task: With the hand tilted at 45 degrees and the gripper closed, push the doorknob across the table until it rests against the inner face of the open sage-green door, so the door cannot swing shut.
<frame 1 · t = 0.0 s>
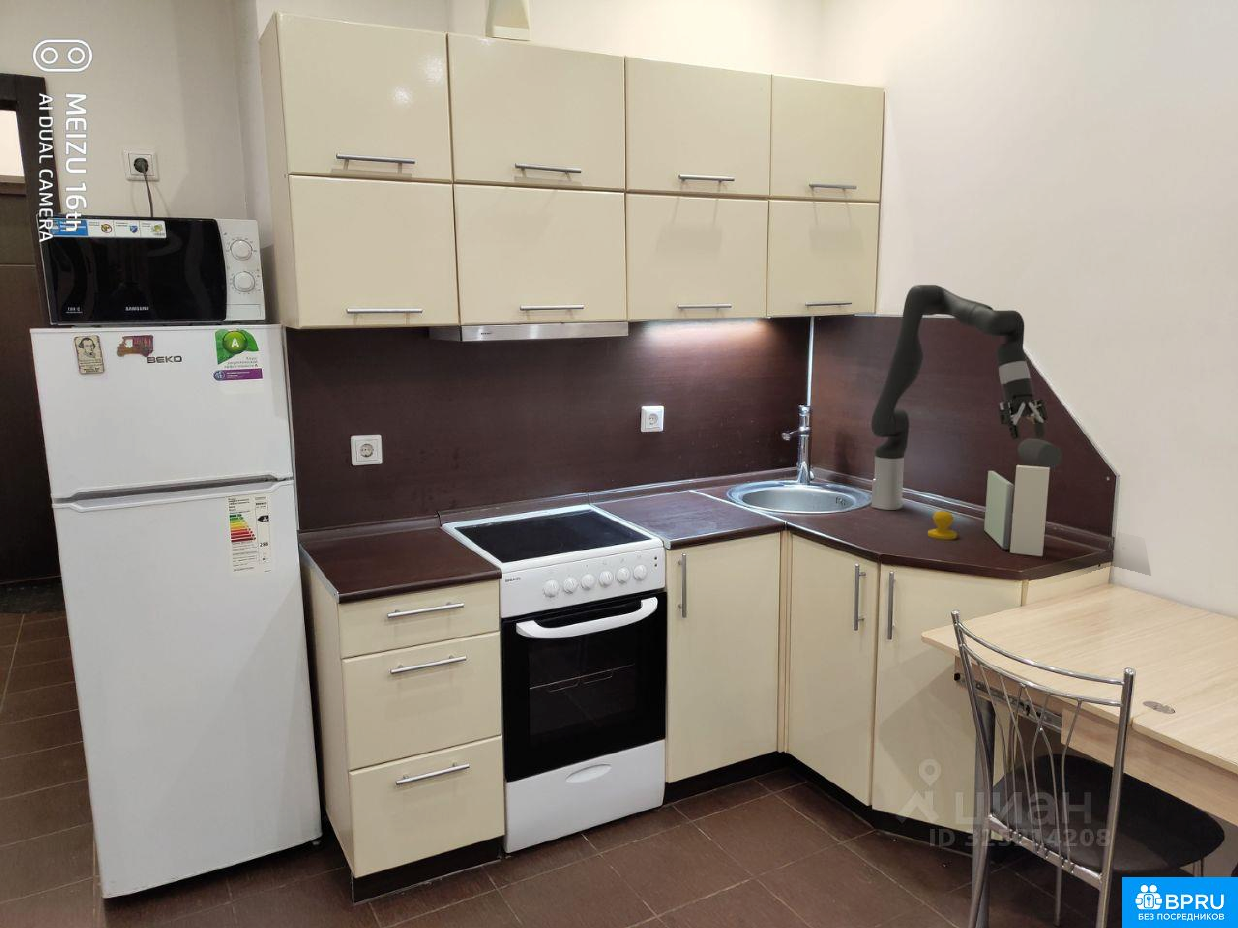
hand: (1028, 438, 239), 31 cm above the countertop, tool tilted 20°, fingers open, 8 cm apart
door: (998, 508, 252), point 10 cm above the countertop, hinge at 70.0°
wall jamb: (967, 546, 250), on the countertop
doorknob: (942, 536, 260), on the countertop
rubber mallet: (1031, 545, 251), on the countertop
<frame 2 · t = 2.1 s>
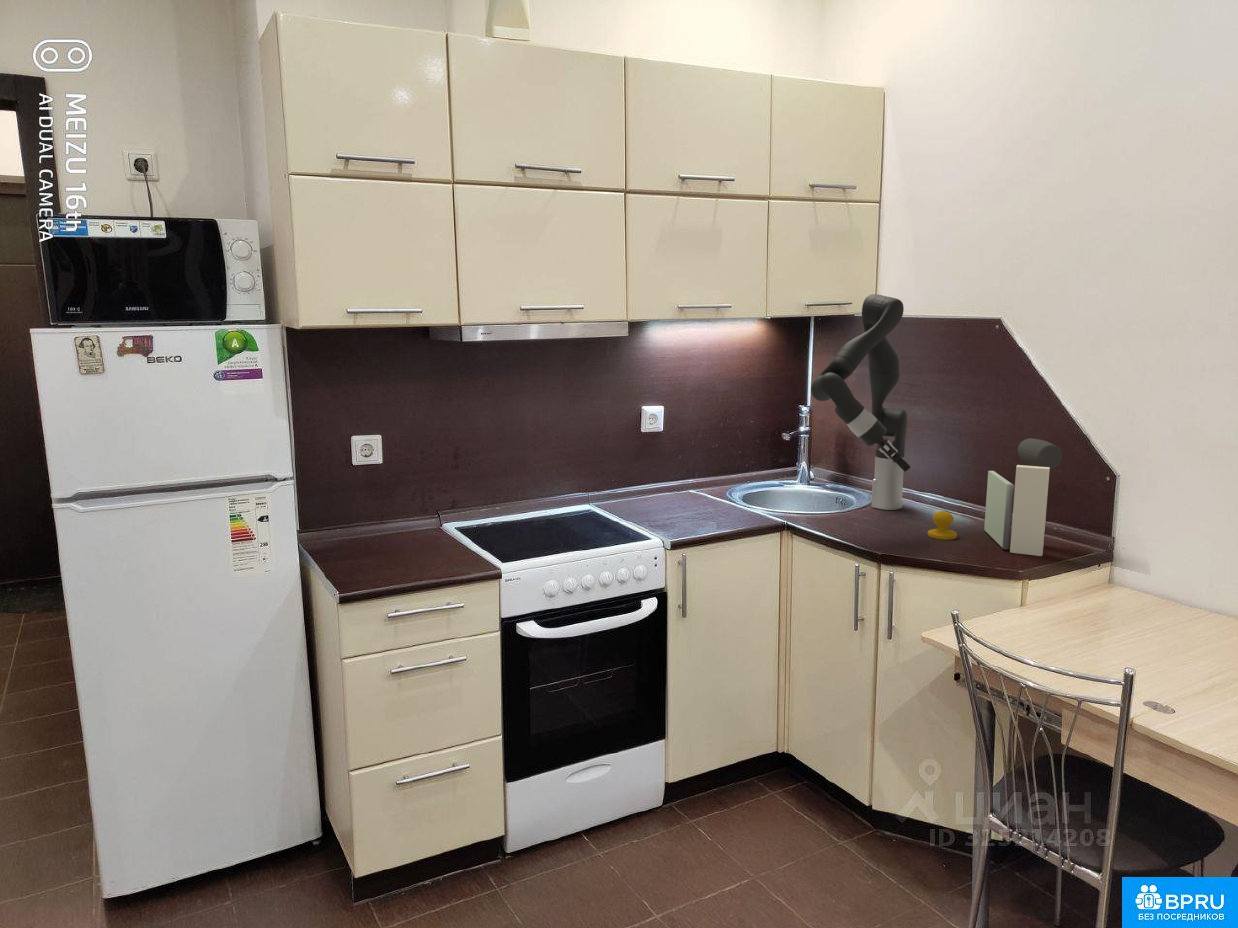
hand: (905, 466, 258), 20 cm above the countertop, tool tilted 45°, fingers open, 7 cm apart
nothing on the countertop moved.
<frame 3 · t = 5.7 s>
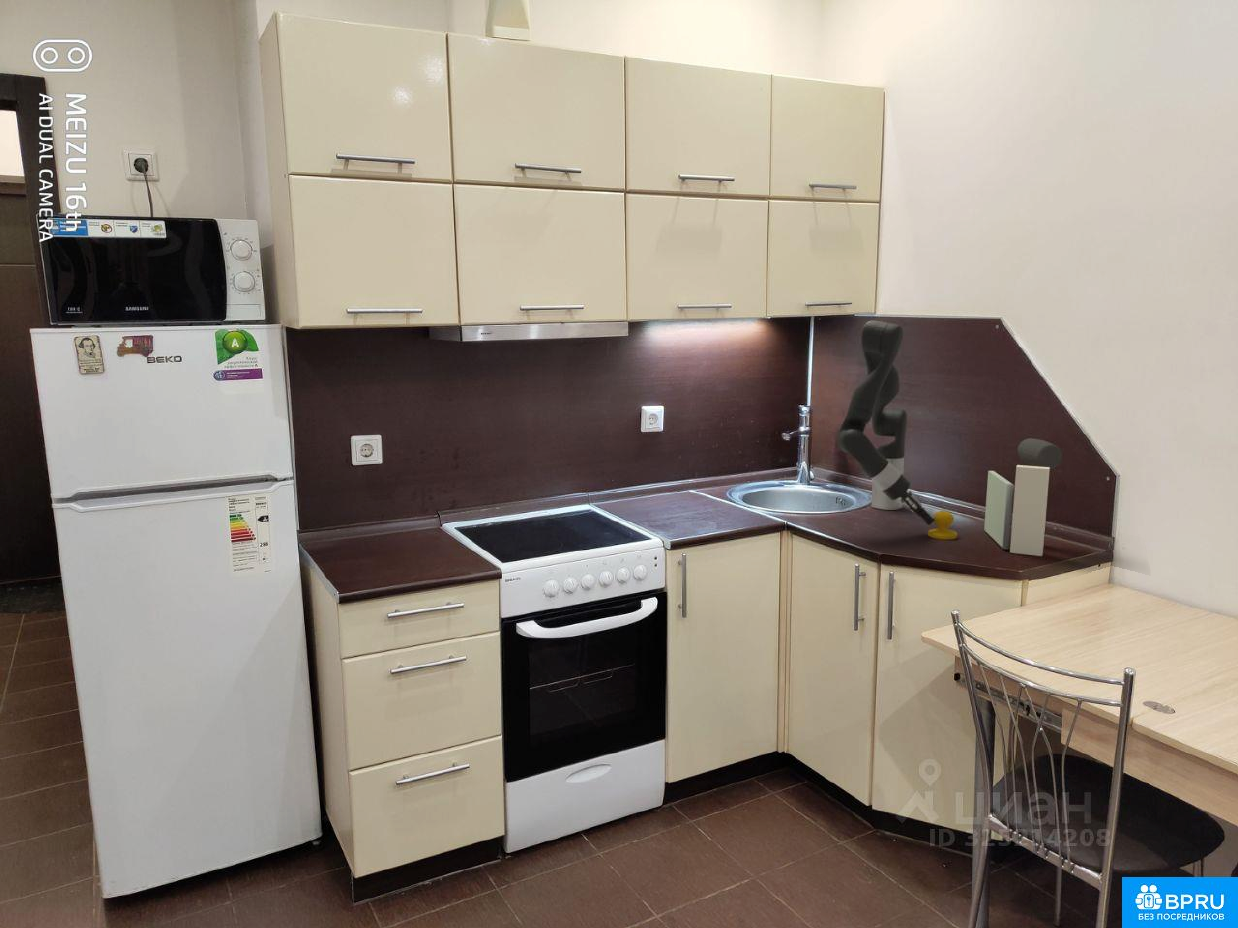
hand: (931, 522, 260), 4 cm above the countertop, tool tilted 45°, fingers closed
doorknob: (942, 536, 260), on the countertop, touching gripper
everything else where it was.
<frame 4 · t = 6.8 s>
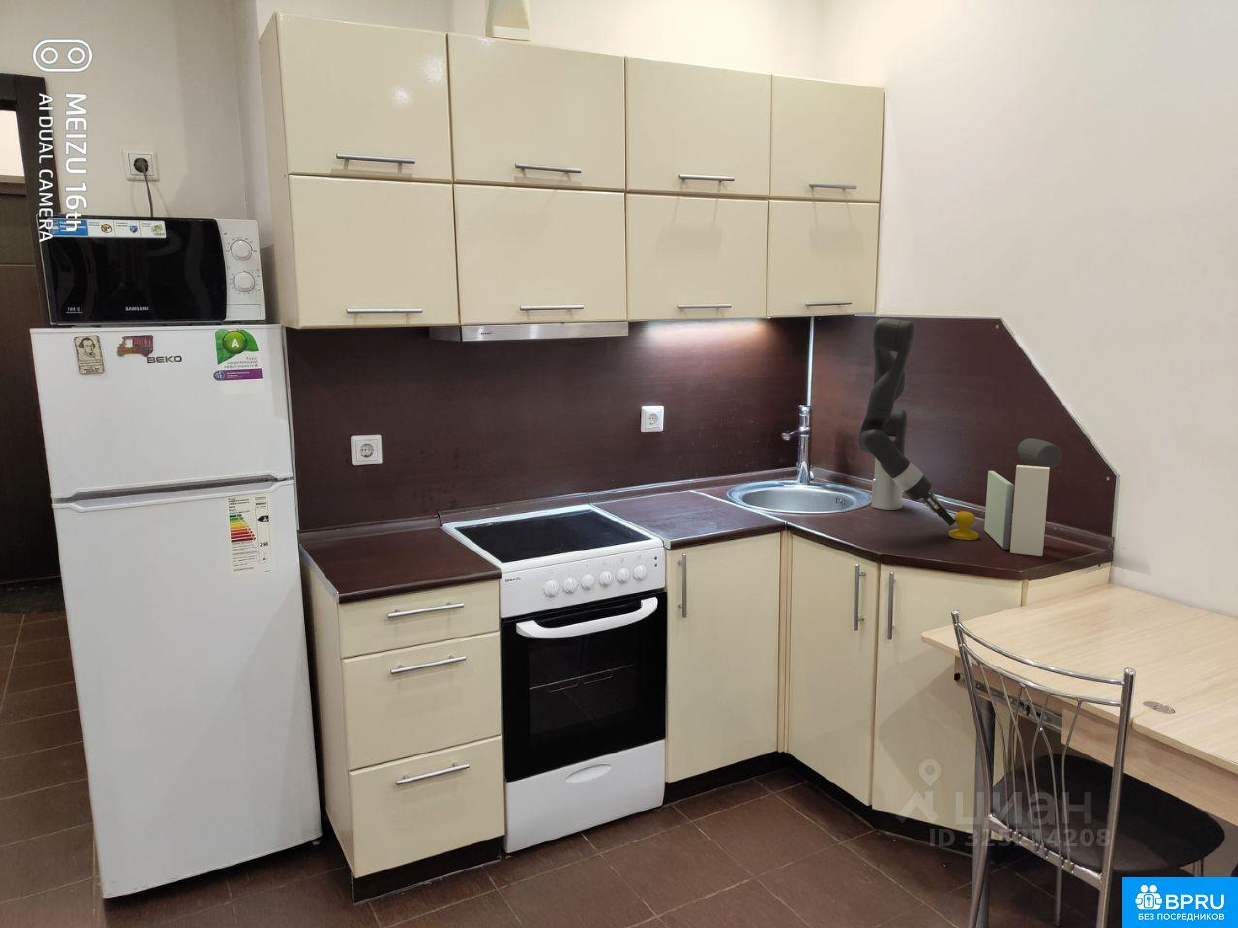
hand: (952, 523, 259), 4 cm above the countertop, tool tilted 45°, fingers closed
doorknob: (963, 537, 259), on the countertop, touching gripper
everything else where it was.
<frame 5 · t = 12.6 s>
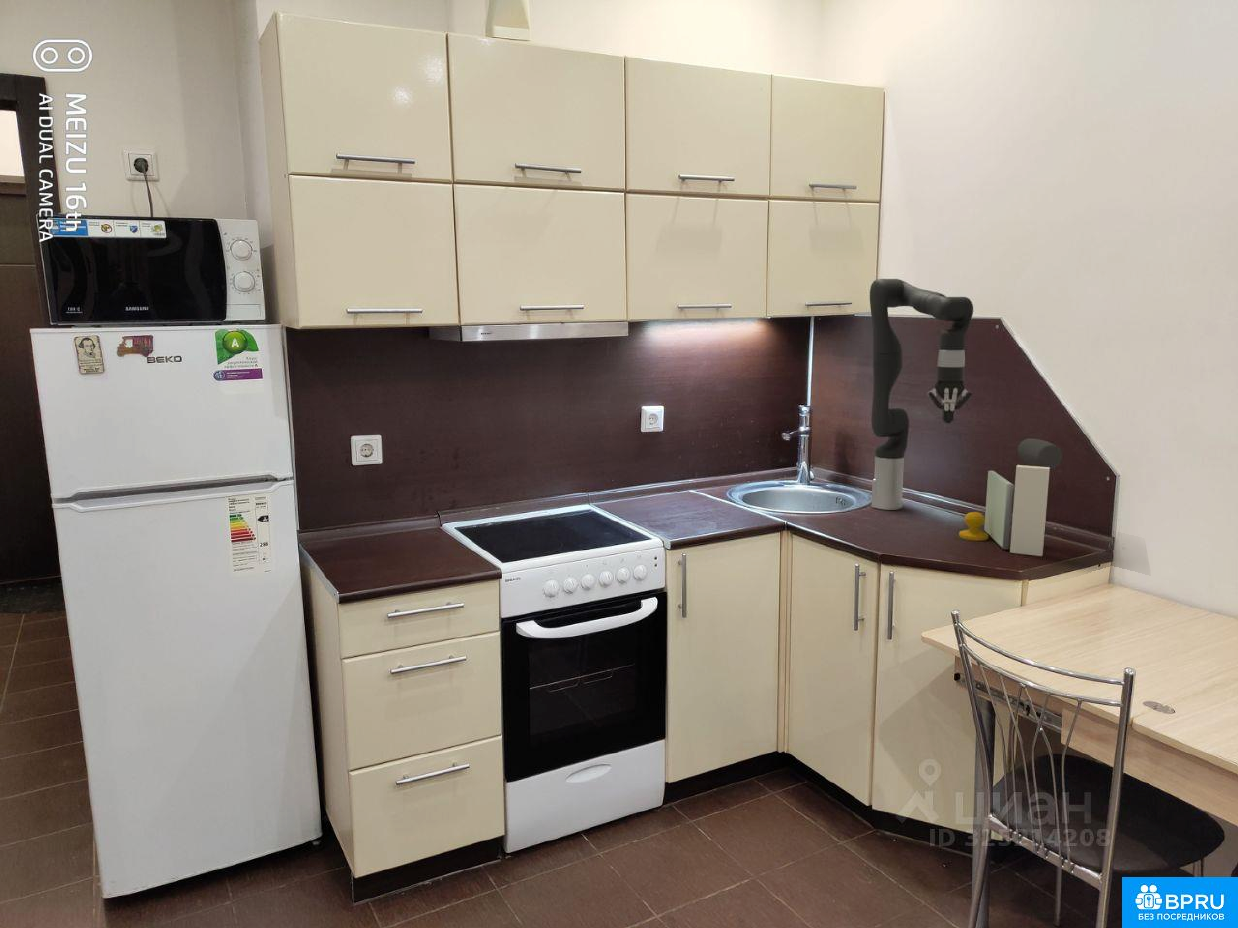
hand: (947, 422, 266), 32 cm above the countertop, tool pointing down, fingers closed
doorknob: (973, 537, 259), on the countertop
everything else where it was.
at the end: doorknob inside the target area (0.4 cm from its centre), on the countertop; door at +70° (first picture: +70°); doorknob tilted 2° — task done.
